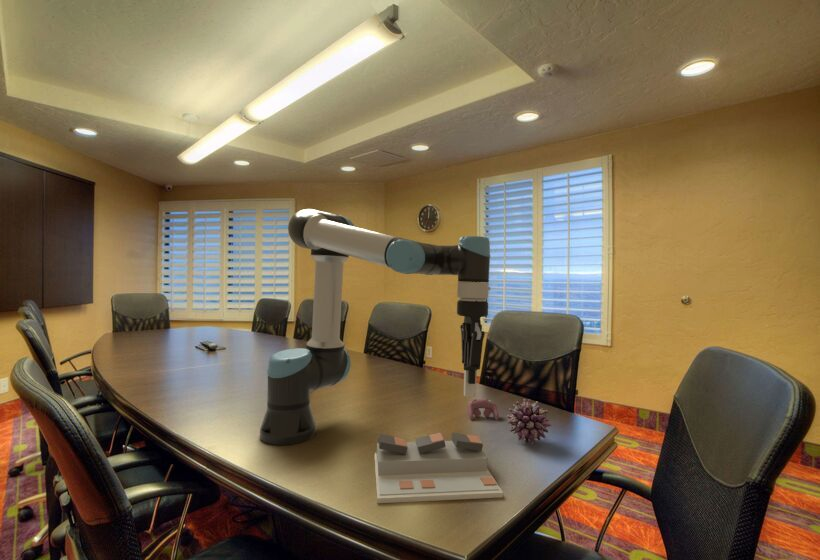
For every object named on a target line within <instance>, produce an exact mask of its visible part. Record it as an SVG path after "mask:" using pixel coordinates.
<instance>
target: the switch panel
mask: <svg viewBox="0 0 820 560" xmlns="http://www.w3.org/2000/svg"><path fill="white" fill-rule="evenodd" d="M444 441H445V446H446V447H444V448H440V449H436V450H432V451H428V452H424V453H420V454H419V452H418V448H417V445H416V441H406V443H407V447H408V448H407V452H406V454H401V453H396V452H392V451H387V450H382V449H379V442H377V443H376V452H374V471H375V487H376V503H377V504H389V503H393V504H394V503H411V502H413V503H414V502H431V501H433V502H434V501H454V500H456V501H457V500H458V501H459V500H472V499H473V500H474V499H475V500H478V499H495V498H497V499H498V498H503V497H504V492H503V490H502V489H501V487H500V486H499V485H498V482H497V481H496V480H495V478H494V477H493V474H492V473H491V472H490V470H489V468H488V457H487V456H486V454H485V453H484V452H483V450H482V451H477V450H470V449H463V448H457V447H455V445H454V443H453V441H452V440H444Z"/></svg>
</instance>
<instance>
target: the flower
mask: <svg viewBox="0 0 820 560" xmlns="http://www.w3.org/2000/svg"><path fill="white" fill-rule="evenodd" d="M515 403H516V404H512V406H513V409H512V408H510V407H509V408H508V411H509V412H510V413H511V414H507V416H506V417H507V418H508V419H507V424H510V425H511V428H510V429H509V432H511V433H513V435H515V434H517V436H518V438H517V441H521V440H524V439H525V440H524V441H525V443H528V442H529V441H530V444H531V445H533V444H535V439H537V440H538V441H541V438H543V439H545V438H547V436H546V435H545V433H547V434H548V433H549V430H548V429H547V428H548V427H551V426H552V424H551V423H548V422H549V421H550V419H549V418H548V417H547V414H548V413H549V411H548V410H547V409H545V410H544V408H543V407H542V408H540V407H541V405H540V404H539V401H535V402H534V403H532V401H531V399H525V398H523V402H522V403H520V402H519V401H516V402H515Z"/></svg>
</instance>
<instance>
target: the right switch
mask: <svg viewBox="0 0 820 560" xmlns="http://www.w3.org/2000/svg"><path fill="white" fill-rule="evenodd" d="M450 440H451V441H453V443H454V445H455V447H457V448H463V449H470V450H477V451H483V447H484V444H483V443H482V441H481V439H480V438H479V437H478V435H473V434H472V435H471V434H465V433H458V432H452V434H451V439H450Z"/></svg>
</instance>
